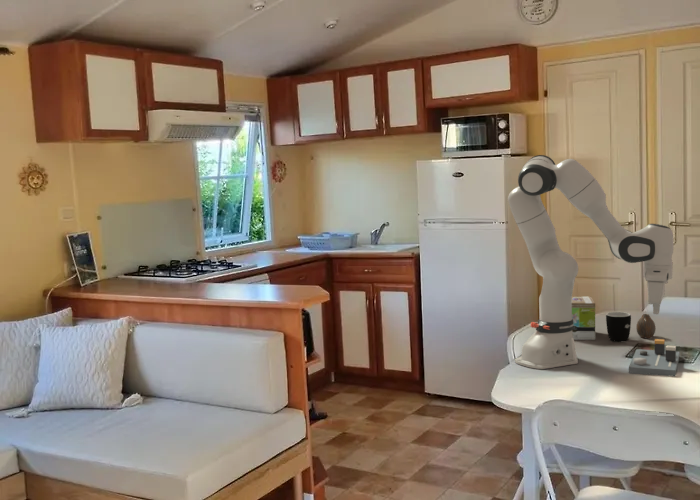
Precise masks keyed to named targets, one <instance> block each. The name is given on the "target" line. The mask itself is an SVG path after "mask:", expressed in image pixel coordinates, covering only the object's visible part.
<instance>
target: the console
mask: <svg viewBox="0 0 700 500" xmlns="http://www.w3.org/2000/svg"><path fill="white" fill-rule="evenodd" d="M680 355H681V354H680V351H676V361H667V360H666V350H665V353H664V354H655V349H641V348H640V349H639V348H636V350H635V352H634V354H633V356H632V358H631V361H630V363H629V365H628V374H635V375H637V374H638V375H639V374H640V375H648V376H649V375H651V376H666V377H667V376H668V377H676V375H677V372H678V371H677V370H678V365H679V362H680V358H679V357H680Z"/></svg>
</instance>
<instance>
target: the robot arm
mask: <svg viewBox="0 0 700 500" xmlns="http://www.w3.org/2000/svg"><path fill="white" fill-rule="evenodd" d="M517 184H518V186H517V187H514V189H512V190H511V191H510V192H509V193H508V196H507V202H508V206H509V208H510V209H509V210H510V212H511V214H512V217H513V219H514V222H515V224H516V226H517V228H518V230H519V231H520V234H521V236H522V239H523V240H524V243H525V245H526V248H527V251H528V254H529V257H530V260H531V263H532V267H533V269H534V270H535V272H536V273H537V274H538V275H539V277H542V287H541V291H540V295H539V297H538V303H539V304H538V307H539V308H538V309H539V313H538V314H539V319H538V320H537V322H534V321H531V322H530V326H531V328H534V329H535V331H534V332H533V333H532V335H531V336H530V337H529V338H528V339H527V340H525V342H524V343H523V345H522V347H521V356H518V357H516V358H515V359H514V363H516V364H517V365H520V366H522V367H527V368H531V369H537V370H545V369H551V368H559V367H564V366H570V365H576V364H579V359H578V356H577V351H576V344H575V340H574V338H573V332H572V330H573V325H574V324H573V319H572V297H573V291H574V286H575V280H576V278H577V276H578V273H579V265H578V262H577V260H576V259H575V257H574V256H572V254H570V253H568V252H565V251H563V250H562V249H561V247H560V245H559V242H558V239H557V235H556V234H557V233H556V228H555V226H554V223H553V221H552V219H551V218H550V217H551V216H550V215H549V214H548V212H547V208H546V206H545V205H544V203H543V200H542V197H541V195H543V194H546V193H548V192H551V191H554V190H555V189H557V190H559V191H560V192H561V194H563V195H564V197H565V198H566V199H567V200H568V202H570V203H571V204H572V206H573V207H574V208H575V209H576V210H578V211H579V212H581V214H583V215H585V216H586V217H587V218H589V219H590V220H592V222H593V223H594V224H595V225H596V227H597V228H598V229H599V230H600V232H601V233H602V234H603V235H604V236H605V238H606V240H607V242H608V245H609V249H610V252H611V254H612V255H613V256H614V257H615V258H616V259H619V260H621V261H624V262H625V263H629V264H637V263H642V262H643V278H645V281H647V284H646V285H647V299H648V304H649V305H652V313H653V315H659V314H660V307H661V304H662V301H663V299H664V296H665V292H666V289H665V288H666V284H668V283H669V280H672V279H673V270H674V269H673V267H674V265H673V264H674V263H673V259H672V258H673V254H674V234H673V233H674V232H673V230H672V228H670V227H669V226H667V225H663V224H658V223H649V224H647V226H644V227H643V228H641V229H639V230H636V231H631V230H628V229H626V228H625V227H623V226H622V225H621V223H620V222H619V221H618V220H617V219H616V217H615V216H614V215H613V213H611V210H609V208H608V206H607V199H606V198H607V197H606V195H607V194H606V193H605V191H604V189H603V188H602V185H601V184H600V183H599V181H598V180H597V179H596V177H594V176H593V174H592V173H591V172H590V171H589V170H588V169H587V168H586V167H585V166H584V165H582V164H581V163H580V162H579V161H577V160H576V159H574V158H567V159H564V160H562V161H560V162H559V163H557V164H556V163H555V161H554V160H553V159H552V158H551V157H550V156H547V155H546V154H545V155H544V154H537V155H534V156H532V157H531V158H529V159H528V161H526V163H524V165H523V166H522V168H521V170H520V171H519V173H518V178H517Z"/></svg>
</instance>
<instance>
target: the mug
mask: <svg viewBox="0 0 700 500" xmlns="http://www.w3.org/2000/svg"><path fill="white" fill-rule="evenodd" d="M605 321H606V322H605V323H606V330H607V336H608V339H609V341H610V342H614V343H624V342H627V341H628V340H629V338H630V335H631V328H632V327H631V326H632V325H631V324H632V315H631V313H630V312H625V311H611V312H607V313H606V314H605Z"/></svg>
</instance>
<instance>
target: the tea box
mask: <svg viewBox="0 0 700 500" xmlns="http://www.w3.org/2000/svg"><path fill="white" fill-rule="evenodd" d="M572 319H573V324H574V325H573V330H572V332H573V338H574V341H575V340H576V341H579V340H580V341H581V340H582V341H591V340H593V341H594V340H596V302H595V301H594V299H593V298H592V296H572Z"/></svg>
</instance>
